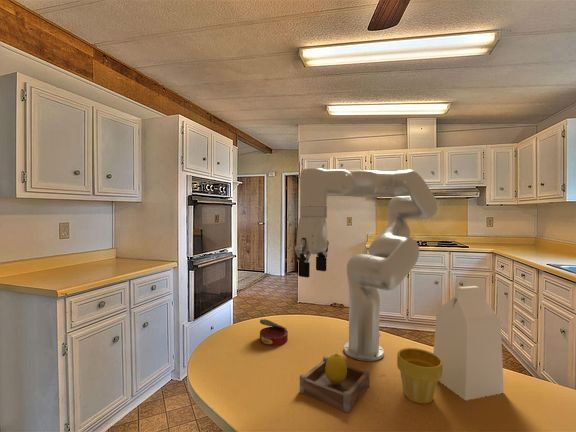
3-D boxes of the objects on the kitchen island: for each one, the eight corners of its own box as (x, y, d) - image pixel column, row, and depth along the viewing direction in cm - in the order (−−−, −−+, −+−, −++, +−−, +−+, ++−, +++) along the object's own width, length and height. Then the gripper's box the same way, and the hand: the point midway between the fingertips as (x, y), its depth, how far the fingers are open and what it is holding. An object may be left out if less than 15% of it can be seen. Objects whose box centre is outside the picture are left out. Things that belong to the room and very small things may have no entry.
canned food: (259, 352, 110) (252, 323, 114) (285, 344, 114) (278, 316, 118) (267, 349, 100) (260, 318, 104) (295, 341, 104) (287, 311, 108)
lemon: (346, 392, 77) (347, 360, 77) (324, 389, 78) (325, 357, 77) (346, 380, 82) (347, 350, 82) (325, 377, 83) (326, 348, 83)
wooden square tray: (324, 369, 89) (324, 356, 89) (370, 385, 81) (370, 370, 81) (298, 392, 78) (298, 376, 78) (348, 413, 70) (348, 396, 70)
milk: (465, 400, 76) (468, 294, 75) (431, 375, 87) (433, 283, 86) (503, 393, 79) (506, 291, 78) (466, 370, 90) (468, 280, 89)
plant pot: (443, 391, 79) (444, 353, 79) (439, 414, 70) (440, 371, 70) (400, 379, 84) (401, 344, 84) (392, 399, 76) (393, 360, 75)
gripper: (316, 212, 96) (316, 267, 97) (284, 213, 82) (284, 277, 83) (338, 212, 92) (338, 270, 93) (309, 213, 78) (308, 281, 78)
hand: (312, 273), depth 88 cm, fingers open, 9 cm apart
